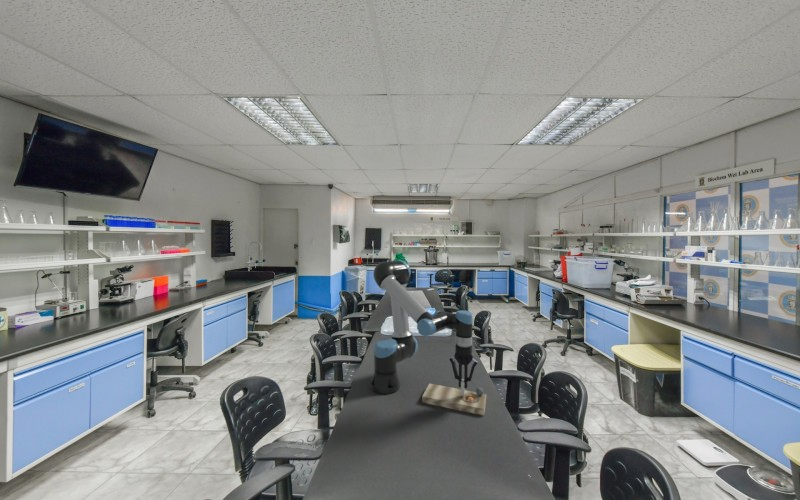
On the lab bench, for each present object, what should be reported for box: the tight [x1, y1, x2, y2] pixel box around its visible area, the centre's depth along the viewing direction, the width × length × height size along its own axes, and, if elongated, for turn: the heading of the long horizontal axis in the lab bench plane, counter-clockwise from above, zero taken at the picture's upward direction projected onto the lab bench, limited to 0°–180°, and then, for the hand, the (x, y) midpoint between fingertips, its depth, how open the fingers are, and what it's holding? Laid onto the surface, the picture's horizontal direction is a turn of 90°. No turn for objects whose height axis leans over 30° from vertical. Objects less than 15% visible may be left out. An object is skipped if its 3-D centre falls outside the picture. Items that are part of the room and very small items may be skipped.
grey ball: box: [475, 387, 484, 396], centre depth 141 cm, size 4×4×4 cm
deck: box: [421, 383, 487, 417], centre depth 141 cm, size 28×13×3 cm, turn 70°
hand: (462, 394), depth 139 cm, fingers closed
